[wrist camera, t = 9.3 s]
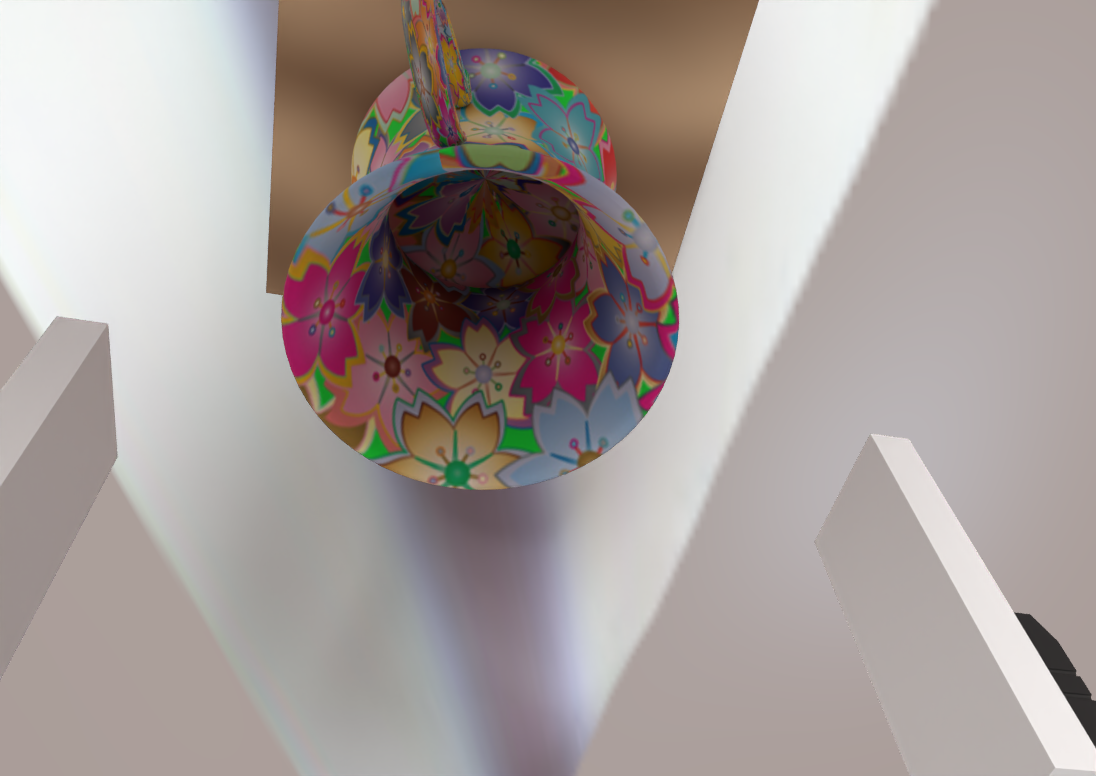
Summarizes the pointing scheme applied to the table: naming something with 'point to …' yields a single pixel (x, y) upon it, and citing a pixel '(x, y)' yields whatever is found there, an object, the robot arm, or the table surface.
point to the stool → (529, 29)
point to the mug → (479, 277)
